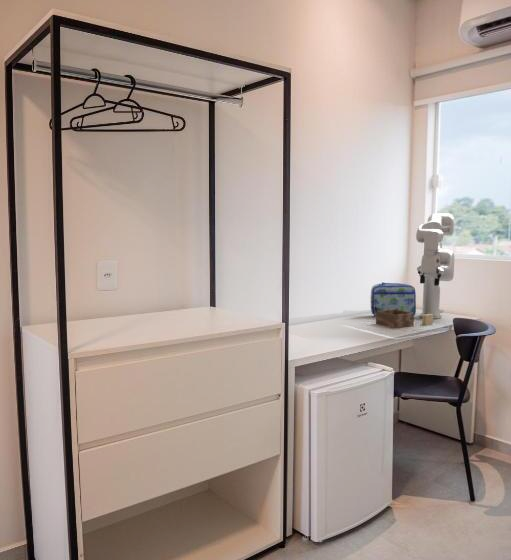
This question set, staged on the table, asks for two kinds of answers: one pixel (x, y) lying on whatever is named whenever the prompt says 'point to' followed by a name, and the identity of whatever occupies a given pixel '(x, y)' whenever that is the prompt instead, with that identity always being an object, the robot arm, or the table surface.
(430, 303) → the robot arm
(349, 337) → the table surface
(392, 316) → the walnut box
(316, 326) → the table surface
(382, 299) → the lunch box
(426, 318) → the lid
